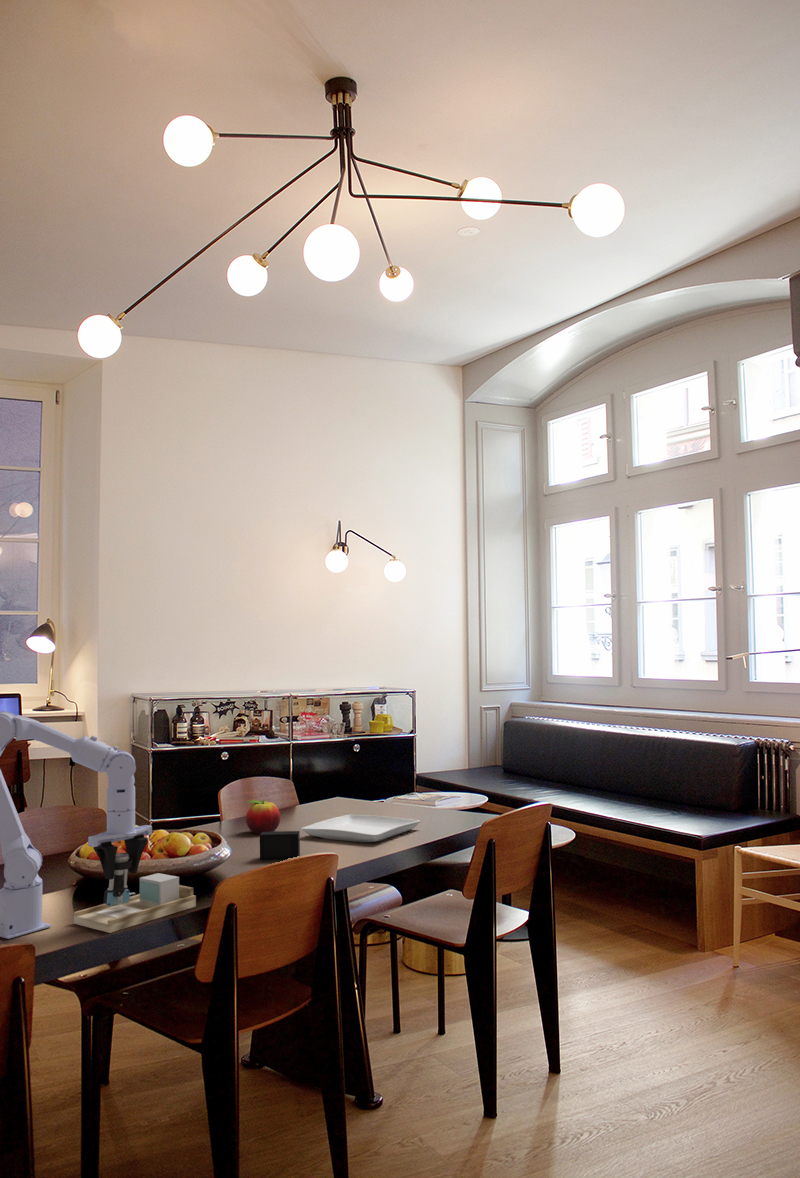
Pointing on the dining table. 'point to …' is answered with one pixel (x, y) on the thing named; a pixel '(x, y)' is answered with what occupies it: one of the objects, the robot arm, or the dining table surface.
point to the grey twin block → (159, 889)
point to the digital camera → (279, 845)
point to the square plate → (360, 827)
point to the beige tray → (132, 912)
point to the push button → (119, 882)
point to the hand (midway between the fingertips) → (120, 875)
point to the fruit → (262, 817)
